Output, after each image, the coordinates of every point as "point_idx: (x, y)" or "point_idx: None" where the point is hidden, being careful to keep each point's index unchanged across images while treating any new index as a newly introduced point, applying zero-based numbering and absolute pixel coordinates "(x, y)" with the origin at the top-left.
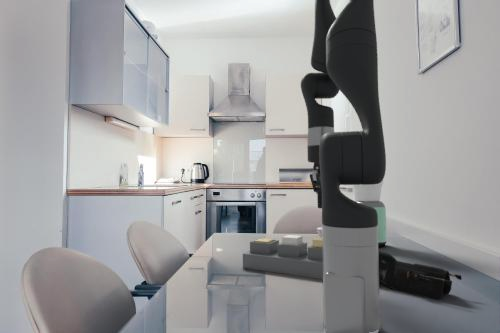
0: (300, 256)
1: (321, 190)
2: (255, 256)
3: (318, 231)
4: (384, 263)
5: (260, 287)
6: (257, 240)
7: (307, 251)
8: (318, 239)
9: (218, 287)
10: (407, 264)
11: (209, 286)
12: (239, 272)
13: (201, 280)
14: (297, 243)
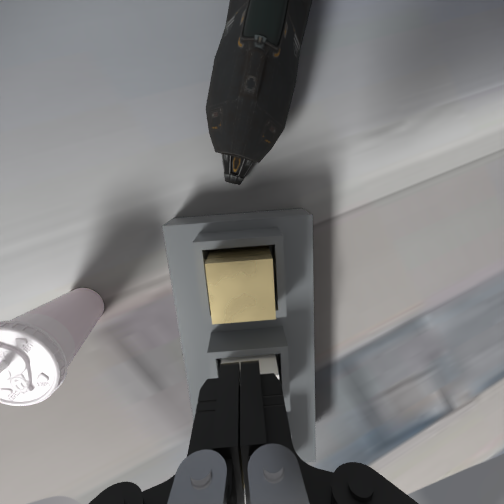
0: (269, 327)
1: (388, 490)
2: (314, 426)
3: (62, 381)
4: (287, 29)
5: (431, 319)
6: None
7: (185, 342)
8: (262, 302)
9: (464, 383)
10: None
11: (465, 400)
12: (346, 412)
13: (435, 434)
14: (269, 362)
